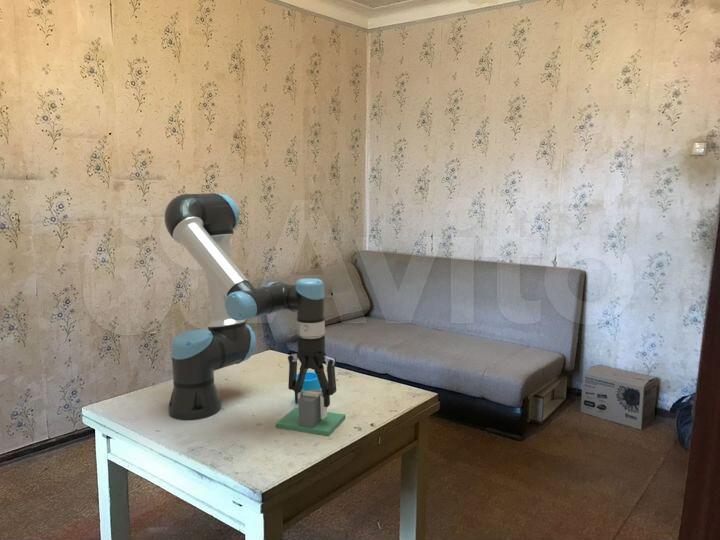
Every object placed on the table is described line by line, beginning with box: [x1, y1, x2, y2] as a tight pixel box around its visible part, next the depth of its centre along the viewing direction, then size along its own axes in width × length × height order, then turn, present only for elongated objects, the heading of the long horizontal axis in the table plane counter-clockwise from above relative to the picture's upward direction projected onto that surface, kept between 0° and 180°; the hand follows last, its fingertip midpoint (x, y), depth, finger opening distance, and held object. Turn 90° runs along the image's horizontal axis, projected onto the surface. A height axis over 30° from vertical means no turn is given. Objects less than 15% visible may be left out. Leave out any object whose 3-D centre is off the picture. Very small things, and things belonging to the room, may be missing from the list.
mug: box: [294, 371, 328, 406], centre depth 170 cm, size 12×8×8 cm
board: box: [275, 406, 346, 437], centre depth 153 cm, size 16×12×5 cm
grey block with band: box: [297, 389, 323, 428], centre depth 151 cm, size 4×8×8 cm, turn 160°
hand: (312, 415), depth 152 cm, fingers open, 6 cm apart
